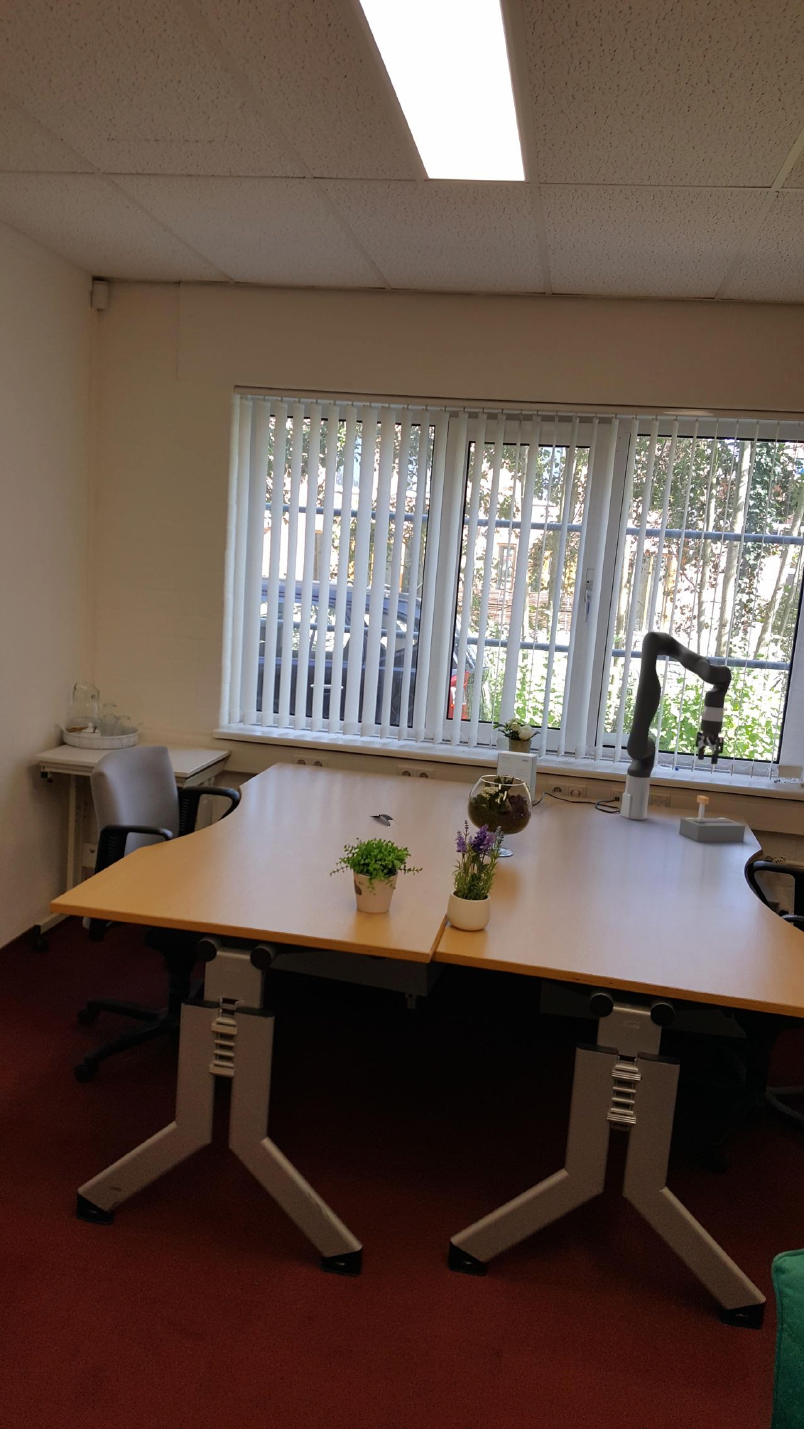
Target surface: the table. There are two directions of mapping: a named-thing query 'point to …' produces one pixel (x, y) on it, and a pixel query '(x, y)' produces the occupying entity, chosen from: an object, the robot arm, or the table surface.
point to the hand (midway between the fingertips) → (707, 761)
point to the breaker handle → (701, 808)
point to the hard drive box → (518, 767)
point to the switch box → (712, 830)
